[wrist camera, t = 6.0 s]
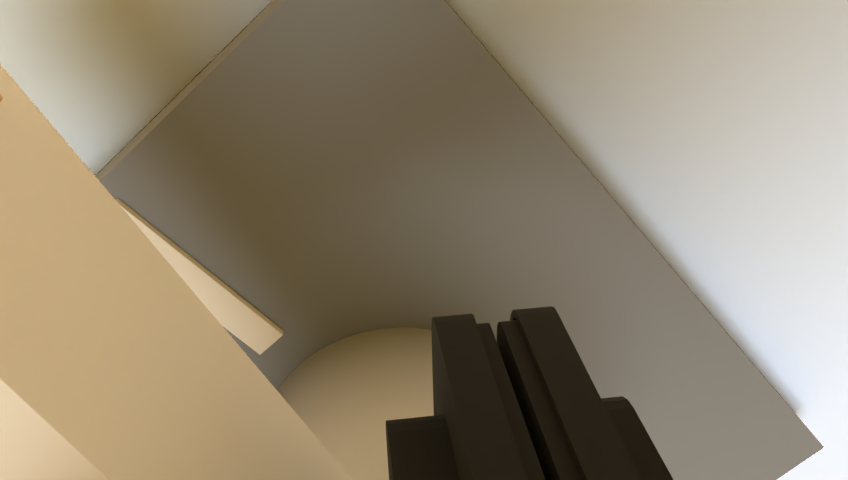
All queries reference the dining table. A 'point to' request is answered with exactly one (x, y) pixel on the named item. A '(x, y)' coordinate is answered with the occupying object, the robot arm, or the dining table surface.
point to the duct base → (421, 236)
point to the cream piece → (117, 341)
